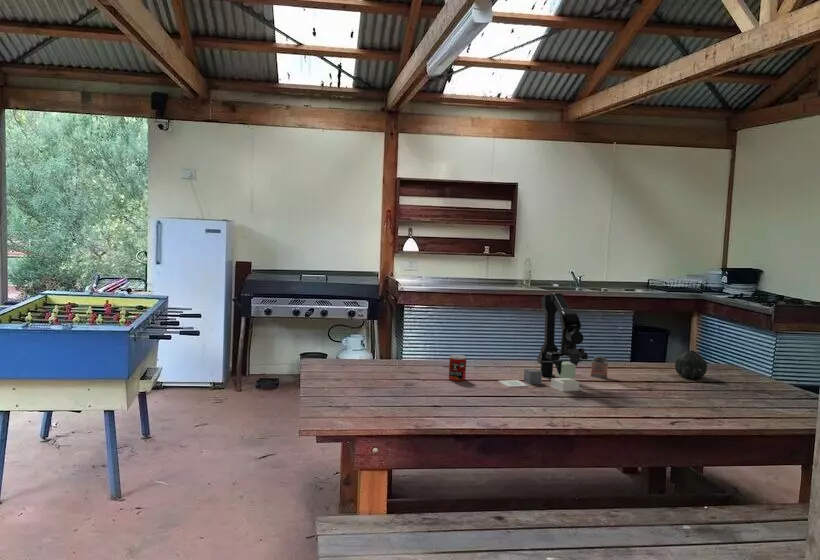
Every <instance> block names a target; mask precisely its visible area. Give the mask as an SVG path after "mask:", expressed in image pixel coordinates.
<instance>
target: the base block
mask: <svg viewBox="0 0 820 560" xmlns="http://www.w3.org/2000/svg"><path fill="white" fill-rule="evenodd" d="M550 387H551V388H553V389H556V390H557V391H559V392H575V391H577V392H578V391H580V382H579V381H577V380H575V379H573V378H562V377H555V378H553V377H552V378H550Z"/></svg>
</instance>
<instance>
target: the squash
mask: <svg viewBox="0 0 820 560" xmlns="http://www.w3.org/2000/svg"><path fill="white" fill-rule="evenodd" d="M674 369H675V371H676V373H677V374H678V375H680V376H683V378H685V379H691V380H692V379H696V380H699V379H701V378H702V377H703V376H705V375H706V373H707V370H708V364H707V361H706V360H705V357H703V356H702V355H700V354H699V352H696V351H694V350H687V351H685V352H683V353H681V354H680V355H678V356H677V357H676V359H675V364H674Z"/></svg>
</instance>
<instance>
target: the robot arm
mask: <svg viewBox="0 0 820 560" xmlns="http://www.w3.org/2000/svg"><path fill="white" fill-rule="evenodd" d="M540 302H541V308H542V310H543V312H544V313H545V314H544V343H543V344H542V345H541V347H540V352H539V353H538V355H537V358H536V359H537V360H536V362H537V363H538V364H540V369H539V370H540V371H542V378H548V377H549V378H551V377H552V378H553V377H555V378H556V374H553V371H554V365H555V368H556V372H557V371H558V374H559V375H560V374H561V363H562V362H564V361H563V360H562V358H563V359H564V358H565V359H566V358H568V359H570V360H569V362H570V363H573V364H575V365H576V367H577V366H578V364H579V363H581V362H582V361H583V360H589V354H588V353H587V352H585V351H586V350H585V348H583V347H579V348H577V345H581V344H582V343H583V342H584V335H583V333H582V332H580V330H581V329H582V327H581V326H582V324H581V320H580V318H579V315H578V313H577V312H576V311H575V310H573V309H571V308H570V307H569V305H568V303H567V302H566V300H565V298H564V295H563V293H561V292H553V293H551V294H545V295H543V296H542V297H541V301H540ZM557 312H558V313H559V322H560V325H561V341H560V340H559V344H560V350H559V348H558V347H557V346H556V344H555V331H556V330H555V329H556V313H557Z"/></svg>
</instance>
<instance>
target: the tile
mask: <svg viewBox="0 0 820 560" xmlns="http://www.w3.org/2000/svg"><path fill="white" fill-rule="evenodd" d="M498 383H499V384H501V385H503V386H505V387H506V388H526V387H527V388H528V387H529V384H527V383H524V381H521V380H518V379H512V380H511V379H510V380H505V379H504V380H498Z"/></svg>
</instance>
